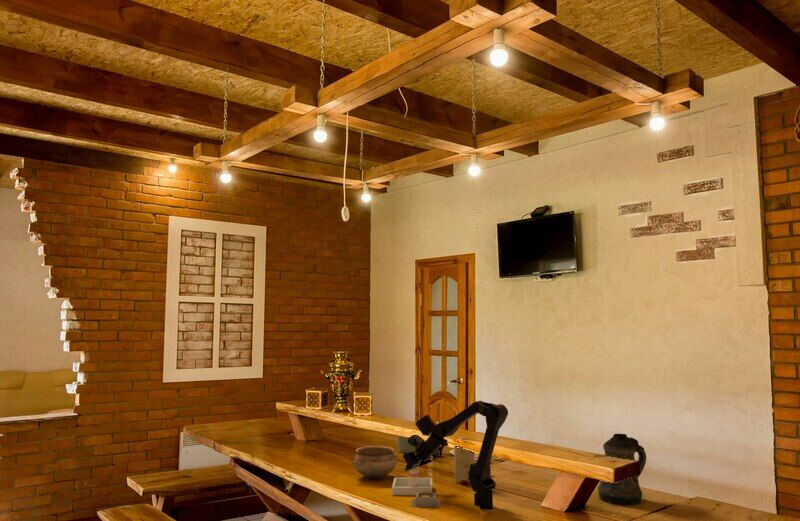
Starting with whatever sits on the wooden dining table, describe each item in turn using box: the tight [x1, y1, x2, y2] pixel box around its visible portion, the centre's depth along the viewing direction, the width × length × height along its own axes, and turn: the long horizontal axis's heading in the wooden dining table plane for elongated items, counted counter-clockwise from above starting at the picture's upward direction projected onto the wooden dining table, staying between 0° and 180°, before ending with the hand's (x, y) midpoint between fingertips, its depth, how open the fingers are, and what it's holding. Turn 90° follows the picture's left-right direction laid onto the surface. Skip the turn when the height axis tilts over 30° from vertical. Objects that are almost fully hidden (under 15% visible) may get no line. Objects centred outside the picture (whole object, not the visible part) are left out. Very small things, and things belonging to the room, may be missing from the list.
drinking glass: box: [397, 435, 415, 453], centre depth 337 cm, size 10×10×12 cm
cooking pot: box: [351, 445, 398, 480], centre depth 281 cm, size 25×19×12 cm
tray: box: [391, 477, 433, 496], centre depth 257 cm, size 16×16×4 cm
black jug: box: [597, 433, 647, 506], centre depth 247 cm, size 16×19×25 cm
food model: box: [453, 436, 476, 485], centre depth 271 cm, size 10×7×20 cm
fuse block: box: [410, 491, 442, 509], centre depth 238 cm, size 11×10×5 cm
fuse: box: [408, 462, 420, 487], centre depth 257 cm, size 4×4×12 cm
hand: (409, 469), depth 258 cm, fingers open, 5 cm apart
